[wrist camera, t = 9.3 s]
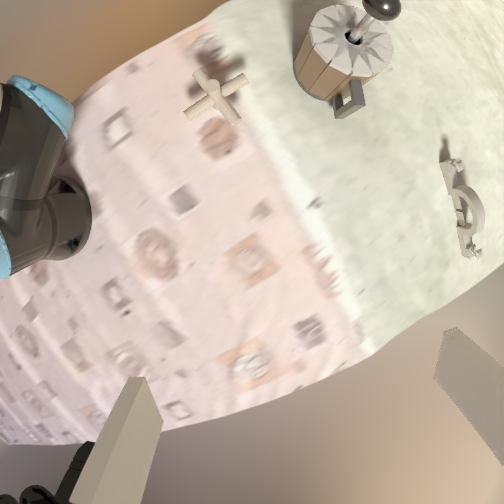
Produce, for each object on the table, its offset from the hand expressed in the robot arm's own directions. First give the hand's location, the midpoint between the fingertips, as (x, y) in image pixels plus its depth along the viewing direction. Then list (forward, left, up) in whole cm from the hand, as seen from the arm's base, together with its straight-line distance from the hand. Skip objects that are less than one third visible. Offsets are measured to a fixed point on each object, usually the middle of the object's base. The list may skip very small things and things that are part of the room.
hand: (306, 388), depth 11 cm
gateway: (+38, 0, -38) cm, 54 cm away
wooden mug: (+14, +24, -37) cm, 46 cm away
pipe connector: (-4, +21, -37) cm, 43 cm away
